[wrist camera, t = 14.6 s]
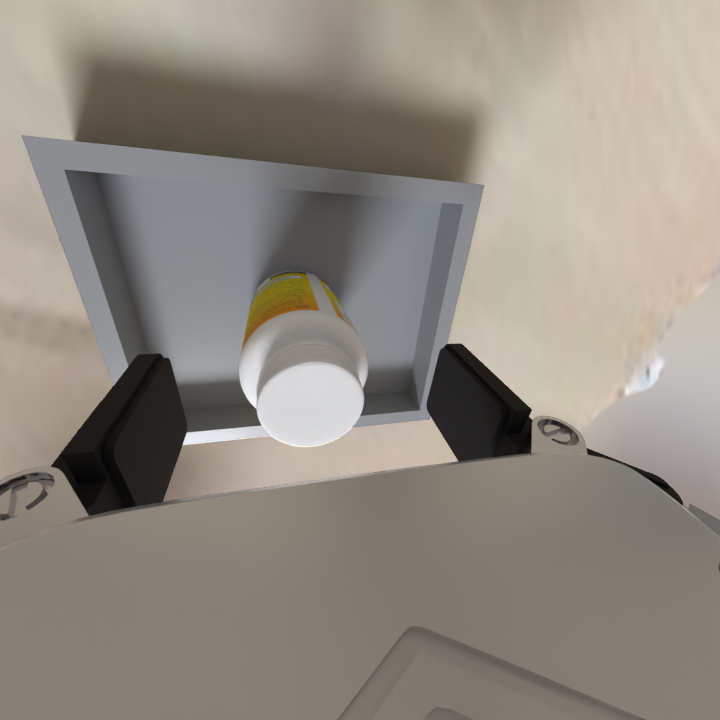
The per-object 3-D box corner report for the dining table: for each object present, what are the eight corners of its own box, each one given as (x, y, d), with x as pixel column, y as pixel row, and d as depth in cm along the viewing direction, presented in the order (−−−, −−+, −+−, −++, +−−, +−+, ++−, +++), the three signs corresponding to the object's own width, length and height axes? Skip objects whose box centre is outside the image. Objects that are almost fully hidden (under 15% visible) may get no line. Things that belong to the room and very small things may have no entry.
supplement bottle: (236, 331, 19) (206, 445, 11) (272, 250, 18) (270, 310, 9) (315, 361, 22) (341, 474, 13) (353, 293, 20) (413, 372, 11)
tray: (73, 146, 14) (21, 135, 11) (452, 185, 19) (484, 185, 16) (155, 414, 22) (136, 449, 19) (412, 393, 27) (429, 419, 24)
